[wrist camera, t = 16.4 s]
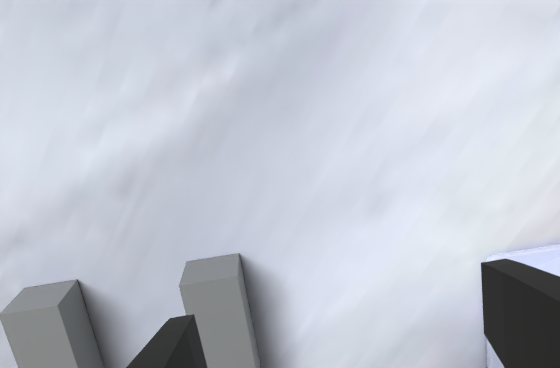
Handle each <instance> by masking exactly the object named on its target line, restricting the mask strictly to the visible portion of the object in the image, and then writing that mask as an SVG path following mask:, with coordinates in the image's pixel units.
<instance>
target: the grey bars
mask: <svg viewBox="0 0 560 368" xmlns="http://www.w3.org/2000/svg"><path fill="white" fill-rule="evenodd" d="M179 287H180V291H181V295H182V300H183V304H184V308H185V312H186V315H192V314H194V316H195V320H196V324H197V328H198V332H199V335H200V339H201V343H202V347H203V351H204V355H205V359H206V363H207V367H208V368H261V364H260V359H259V354H258V349H257V343H256V338H255V333H254V328H253V323H252V318H251V312H250V307H249V302H248V297H247V292H246V287H245V281H244V276H243V271H242V266H241V261H240V256H239V253H238V254H232V255H226V256H219V257H213V258H207V259H201V260H195V261H189V262H186V265H185V269H184V272H183V275H182V278H181V281H180V284H179ZM0 320H1V322H2V325H3V328H4V330H5V333H6V336H7V338H8V341H9V344H10V347H11V349H12V352H13V355H14V357H15V360H16V363H17V365H18V368H104V365H103V362H102V359H101V355H100V352H99V349H98V346H97V342H96V339H95V336H94V333H93V329H92V326H91V323H90V320H89V316H88V313H87V310H86V307H85V303H84V300H83V297H82V294H81V290H80V287H79V284H78V281H77V280H72V281H65V282H59V283H53V284H47V285H41V286H35V287H28V288H24V289H23V290H22V291H21V292H20V293H19V294H18V295H17V296H16V297H15V298H14V300H13V301H12V302H11V303H10V304H9V305H8V306H7V307H6V308H5V309H4V310H3V311H2V312H1V313H0Z"/></svg>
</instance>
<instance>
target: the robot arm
mask: <svg viewBox="0 0 560 368" xmlns="http://www.w3.org/2000/svg"><path fill="white" fill-rule="evenodd" d="M481 272H482V295H483V317H484V334H485V336H486V348H487V368H560V244H556V245H550V246H543V247H537V248H531V249H525V250H519V251H513V252H507V253H501V254H494V255H492V256H490V257H488V258H487V259H486V261H485V262H483V263H481ZM126 368H208V367H207V363H206V359H205V355H204V351H203V347H202V343H201V339H200V335H199V332H198V328H197V324H196V320H195V316H194V314H192V315H186V316H181V317H175V318H170V319H169V320H168V321H167V322H166V323H165V324H164V325H163V326H162V327H161V329H160V330H159V331H158V332H157V333H156V334H155V335H154V337H153V338H152V339H151V340H150V341H149V342H148V344H147V345H146V346H145V347H144V348H143V349H142V351H141V352H140V353H139V354H138V355H137V356H136V357H135V358H134V360H133V361H132V362H131V363H130V364H129V365H128V366H127V367H126Z"/></svg>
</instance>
